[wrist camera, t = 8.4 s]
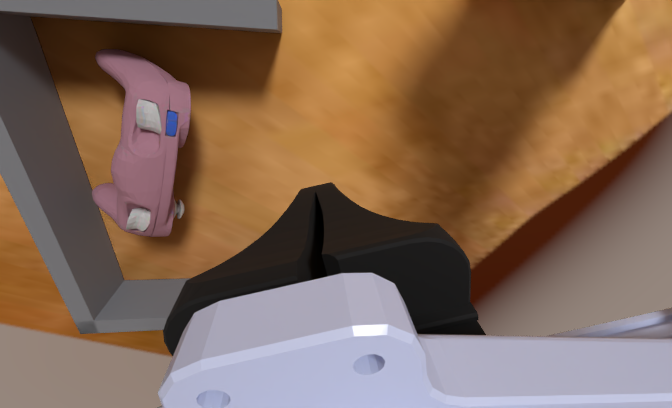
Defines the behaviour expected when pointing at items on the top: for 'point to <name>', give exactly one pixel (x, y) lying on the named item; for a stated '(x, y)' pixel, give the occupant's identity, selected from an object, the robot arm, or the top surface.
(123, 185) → the video game controller
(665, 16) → the top surface
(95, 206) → the box
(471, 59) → the top surface
